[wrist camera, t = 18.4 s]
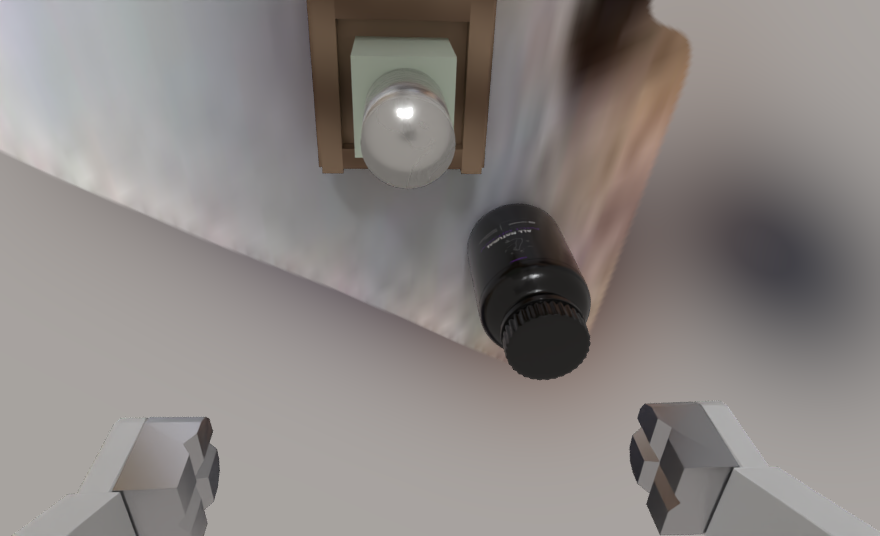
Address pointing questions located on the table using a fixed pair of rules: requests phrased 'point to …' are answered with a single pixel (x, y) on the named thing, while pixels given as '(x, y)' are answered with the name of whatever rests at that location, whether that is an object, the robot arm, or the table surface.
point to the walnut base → (399, 15)
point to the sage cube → (394, 53)
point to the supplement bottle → (529, 291)
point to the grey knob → (406, 129)
